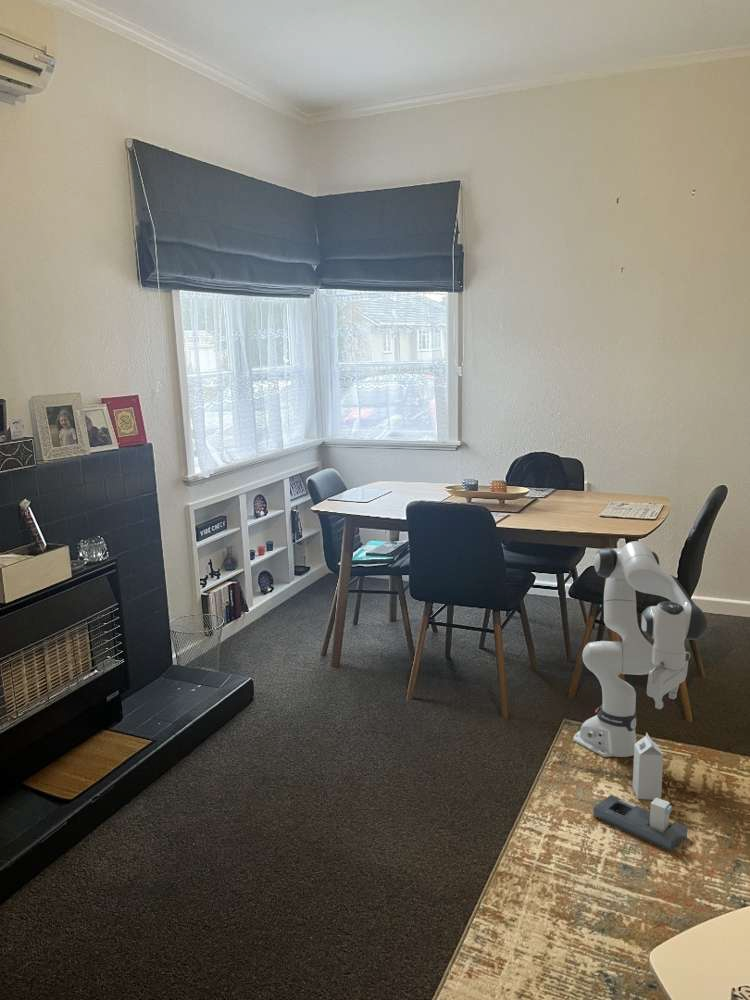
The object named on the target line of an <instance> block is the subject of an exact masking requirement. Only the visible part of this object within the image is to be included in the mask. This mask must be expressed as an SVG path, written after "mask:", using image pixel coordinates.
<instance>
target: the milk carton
mask: <svg viewBox="0 0 750 1000" xmlns="http://www.w3.org/2000/svg"><path fill="white" fill-rule="evenodd" d="M663 767H664V754H663V752H662V751H661V749H660V747H659V745H658V744H657V743H656V742H655V741H653V740H652V739H651V738H650V736H649V734H648V732H645V736H643V737H642V738H641V739H639V740H638V741H636V743H635V745H634V755H633V768H632V769H633V770H632V790H633V792H634V794H635V796H636V798H637V800H652V801H653V800H654V799H655V798H659V799H662V788H663V787H662V786H663V772H664V771H663V770H664V769H663Z"/></svg>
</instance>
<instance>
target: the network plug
mask: <svg viewBox="0 0 750 1000" xmlns="http://www.w3.org/2000/svg"><path fill="white" fill-rule="evenodd" d="M670 803H671V802H669V801H667V800H665V799H662V798H661V799H659V798H655V799H654V800H652V801H651V802H650V810H649V811H650V827H651V828H653V829H656V830H658V831H660V832H662V833H664V832H665V831H666V830H668V827H669V819H670V814H671V813H672V808H673V807H672V805H671V804H670Z"/></svg>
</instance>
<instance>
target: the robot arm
mask: <svg viewBox="0 0 750 1000" xmlns="http://www.w3.org/2000/svg"><path fill="white" fill-rule="evenodd" d="M593 565H594V570H595V573H596V574H597V576H599V577H602V578H605V582H604V589H603V622H604V625H605V626H606V627H607V628H608V629H609V630H611V631H612V632H615V633H616V634H618V635H619V636H620V637H621V639H622V641H613V640H612V641H610V640H600V641H599V640H597V641H592V642H591V641H590V642H588V643H587V644H585V646H584V648H583V651H582V655H581V656H582V661H583V662H582V663H584V666H585V667H586V668H587V669H588V670H589V671H590V672H592V673H593V674H594V675H595V676H596V678H597V680H598V681H599V683H600V686H601V692H602V694H601V695H602V704H601V705H600V706H598V707H597V708H596V709H595V713H597V714H596V715H594V716H592V717H589V718H588V719H586V720H585V721H584V722H582V725H581V727H580V730H579V731H577V732H575V734H574V735H573V739H572V740H573V742H575V743H577V744H579V745H581V746H583V747H584V748H586V749H588V750H590V751H592V752H594V753H596V754H598V755H599V756H601V757H603V758H612V757H618V758H628V757H632V756H633V757H634V745H635V743H636V742H637V737H636V735H637V734H636V726H637V711H636V703H637V701H636V700H637V699H636V698H637V693H636V690H635V688H634V686H632V685H631V684H630V683H628V682H627V681H625V680H624V679H622V678H620V677H619V675H637V676H643V675H648V677H647V685H646V695H647V696H648V697H649V698H653V700H654V702H655V704H654V705H655V709H658V710H662V709H663V708H664V702H663V699H664V698H663V697H664V696H665V695H666V694H668V698H669V699H672V700H675V699H676V698H677V693H678V690H679V687H680V684H682V683H683V682H685V681H686V679H687V675H688V668H689V660H690V659H691V652H689V651H686V648H685V640H691V641H697V640H699V639H700V638H701V637H702V636H703V635H704V634H705V633H706V632H707V630H708V620H707V617H706V614H705V612H704V611H703V610H702V609H701V608H700V606H698V605H697V604H696V603H695V602H694V601H693V599H692V598H691V596H690V595H689V594H688V592H687V591H686V589H685V588H684V587H683V586H682V584H681V583H680V581H679V580H678V578H677V577H676V576H674V575H672V574H671V573H669V572H667V571H666V570H664V569H663V568H662V567H661V565H660V559H659V557H658V555H657V553H656V552H654V551H651V550H650V548H649V547H648V545H646V543H644V542H641V541H639V540H638V541H636V540H634V541H629V542H627V543H626V544H624V546H623V547H622V548H621V547H620V548H619V547H618V548H610V547H605V548H603V547H602V548H600V549H599V550H598V551H597V552H596V553H595V557H594V559H593ZM636 591H637V592H640V593H643V594H649V595H656V596H660V597H663V598H666V599H668V601H661V602H659V603H658V604H657V605H651V606H647V607H646V608H645V609H644V610H643V611H642V612H641V613H640V614H641V615H640V626H639V623H638V613H637V596H636V595H637V594H636ZM641 631H642V632H641ZM643 634H644V635H645V636H647V637H648V638H649V639H653V644H651V642H649V641H648V640H647V639H646V638H645V637H644V635H643Z"/></svg>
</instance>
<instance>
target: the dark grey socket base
mask: <svg viewBox="0 0 750 1000" xmlns="http://www.w3.org/2000/svg"><path fill="white" fill-rule="evenodd" d="M616 810H618V811H619V812H618V811H616ZM615 811H616V812H615ZM620 812H622V813H624V814H622V813H620ZM593 815H594V816H596V817H598V818H600V819H601V821H603V822H604V823H607V824H610V825H611V826H614V827H615V828H618V829H620V830H622V831H625V832H627V833H629V834H630V835H633V836H636V837H637V838H640V839H641V840H644V841H646V842H648V843H651V844H652V845H655V846H657V847H660V848H662V849H664V850H667V852H668V851H669V852H672V851H673V850H674V849H675V848H677V846H678V845H679V844H681V843H682V842H683V841H684V840H685V839H686V838H687V837H688V827H687V825H686V826H685V825H683V824H681V823H679V822H676V821H674V820H672V819H670V818H669V827H668V830H666V831H665V832H664V833H662V832H660V831H658V830H656V829H653V828H651V827H650V810H649V809H646V808H644V807H641V806H640V805H639V806H638V805H637V804H635V803H632V802H630V801H627V800H625V799H624V798H620V797H617V796H616V795H613V794H610V795H608V796H607V797H606V798H604V799H603V800H601V801H600V802H599V803H598V804H596V805H595V806H593ZM594 816H593V817H594ZM596 817H595V818H596ZM598 818H597V819H598ZM600 819H599V820H600Z"/></svg>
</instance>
